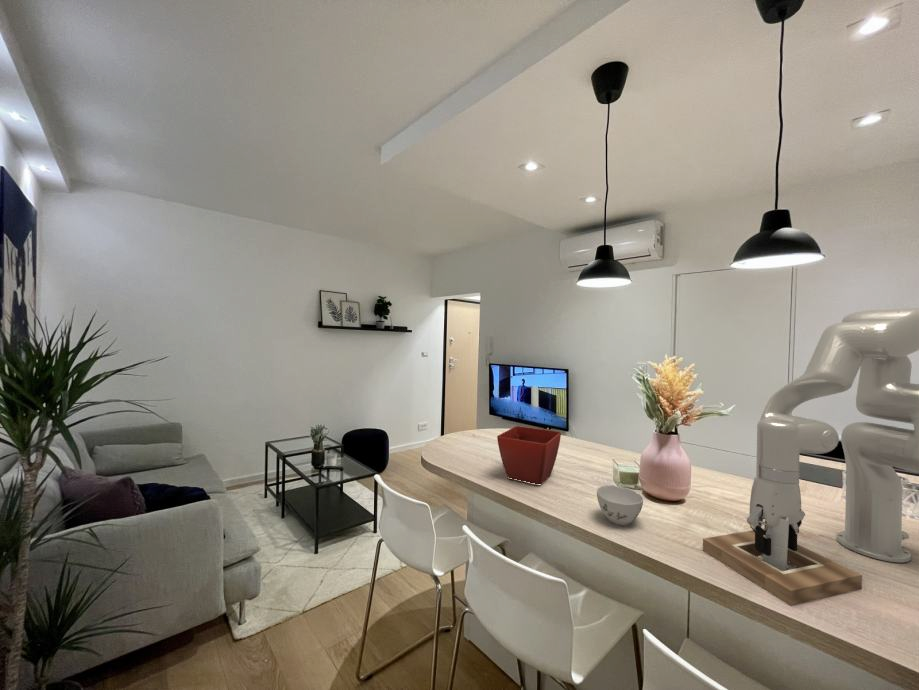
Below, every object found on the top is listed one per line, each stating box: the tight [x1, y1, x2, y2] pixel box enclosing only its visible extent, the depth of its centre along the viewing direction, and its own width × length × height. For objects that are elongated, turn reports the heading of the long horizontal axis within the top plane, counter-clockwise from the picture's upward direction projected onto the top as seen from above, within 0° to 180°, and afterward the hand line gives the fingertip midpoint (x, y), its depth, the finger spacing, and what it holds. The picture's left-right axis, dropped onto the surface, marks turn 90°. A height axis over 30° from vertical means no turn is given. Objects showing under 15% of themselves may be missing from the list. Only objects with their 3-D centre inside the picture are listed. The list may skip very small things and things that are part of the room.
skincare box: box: [762, 517, 789, 571], centre depth 86 cm, size 6×4×12 cm
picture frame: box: [702, 528, 863, 606], centre depth 87 cm, size 20×20×3 cm
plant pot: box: [496, 425, 562, 485], centre depth 143 cm, size 19×19×17 cm
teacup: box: [596, 484, 644, 526], centre depth 110 cm, size 15×12×8 cm
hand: (775, 549), depth 86 cm, fingers closed on skincare box, 7 cm apart
